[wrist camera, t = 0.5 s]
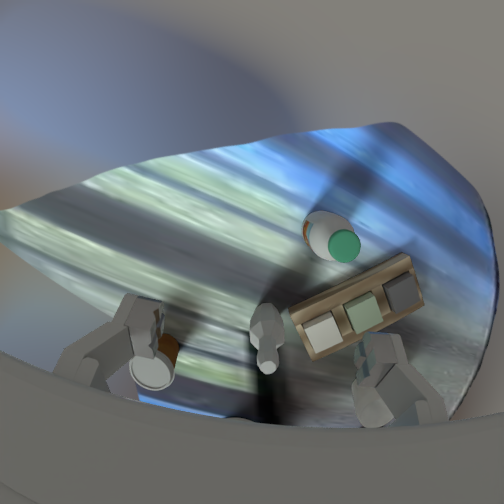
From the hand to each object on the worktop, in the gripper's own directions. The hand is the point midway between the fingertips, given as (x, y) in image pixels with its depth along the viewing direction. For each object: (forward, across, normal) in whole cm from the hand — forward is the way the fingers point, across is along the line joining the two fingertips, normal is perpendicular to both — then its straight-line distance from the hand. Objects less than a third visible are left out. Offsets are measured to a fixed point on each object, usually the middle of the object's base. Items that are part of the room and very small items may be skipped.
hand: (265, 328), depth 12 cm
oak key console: (+39, +24, -34) cm, 57 cm away
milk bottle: (+46, +13, -22) cm, 52 cm away
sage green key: (+37, +24, -33) cm, 55 cm away
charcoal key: (+39, +32, -28) cm, 58 cm away
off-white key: (+35, +17, -38) cm, 54 cm away
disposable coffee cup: (+33, -15, -50) cm, 62 cm away
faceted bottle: (+38, +6, -39) cm, 54 cm away
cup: (+31, +33, -52) cm, 69 cm away
